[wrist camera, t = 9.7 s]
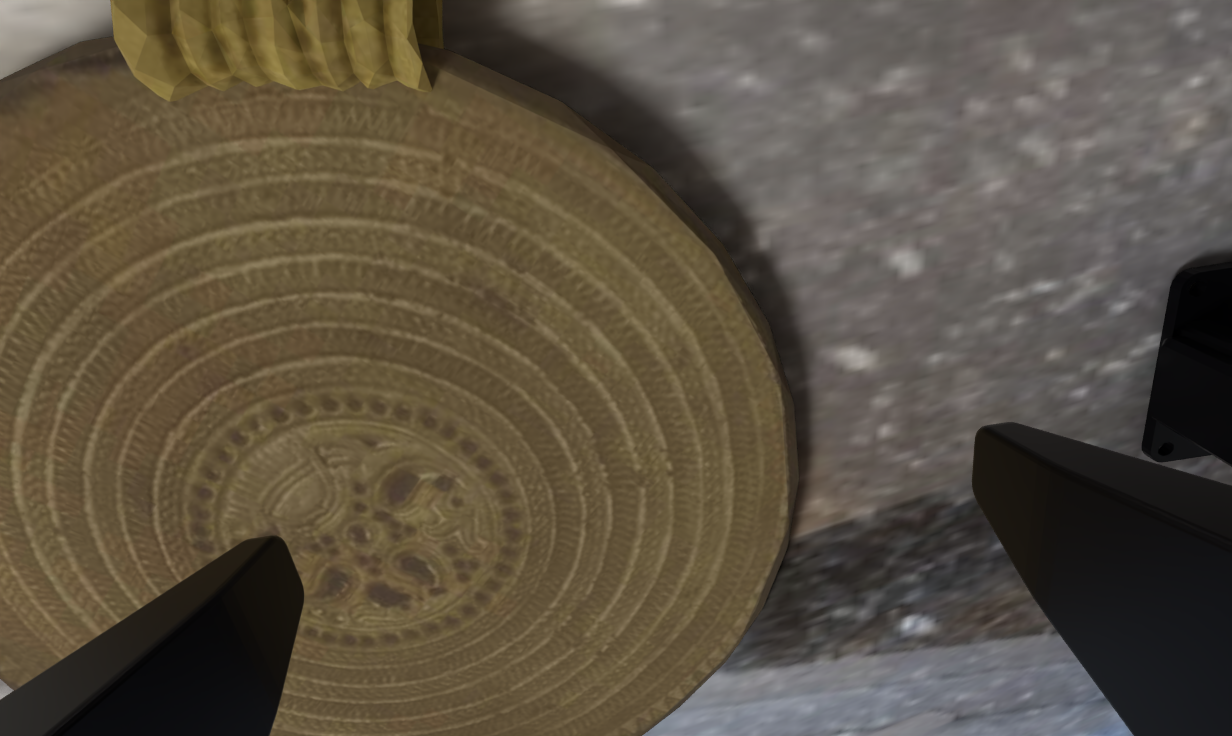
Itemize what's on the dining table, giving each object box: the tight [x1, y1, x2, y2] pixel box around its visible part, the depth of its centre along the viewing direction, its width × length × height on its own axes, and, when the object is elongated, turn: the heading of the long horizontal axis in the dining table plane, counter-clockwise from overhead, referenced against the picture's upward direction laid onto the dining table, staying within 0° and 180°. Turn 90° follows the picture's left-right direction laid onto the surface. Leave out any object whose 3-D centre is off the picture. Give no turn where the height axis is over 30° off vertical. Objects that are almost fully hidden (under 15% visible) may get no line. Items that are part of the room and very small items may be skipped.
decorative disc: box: [0, 0, 799, 736], centre depth 22 cm, size 29×3×30 cm
